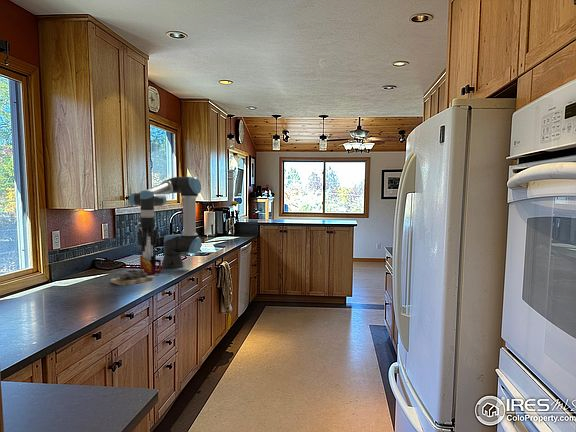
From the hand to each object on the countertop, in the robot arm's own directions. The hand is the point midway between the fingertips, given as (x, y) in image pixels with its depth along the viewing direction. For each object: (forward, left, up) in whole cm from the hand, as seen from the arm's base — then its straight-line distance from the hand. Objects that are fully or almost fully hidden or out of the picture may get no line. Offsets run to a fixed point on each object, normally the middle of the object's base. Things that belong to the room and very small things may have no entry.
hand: (147, 256), depth 227 cm
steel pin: (0, 0, -2) cm, 2 cm away
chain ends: (+3, -11, -16) cm, 20 cm away
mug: (-17, -20, -16) cm, 31 cm away
